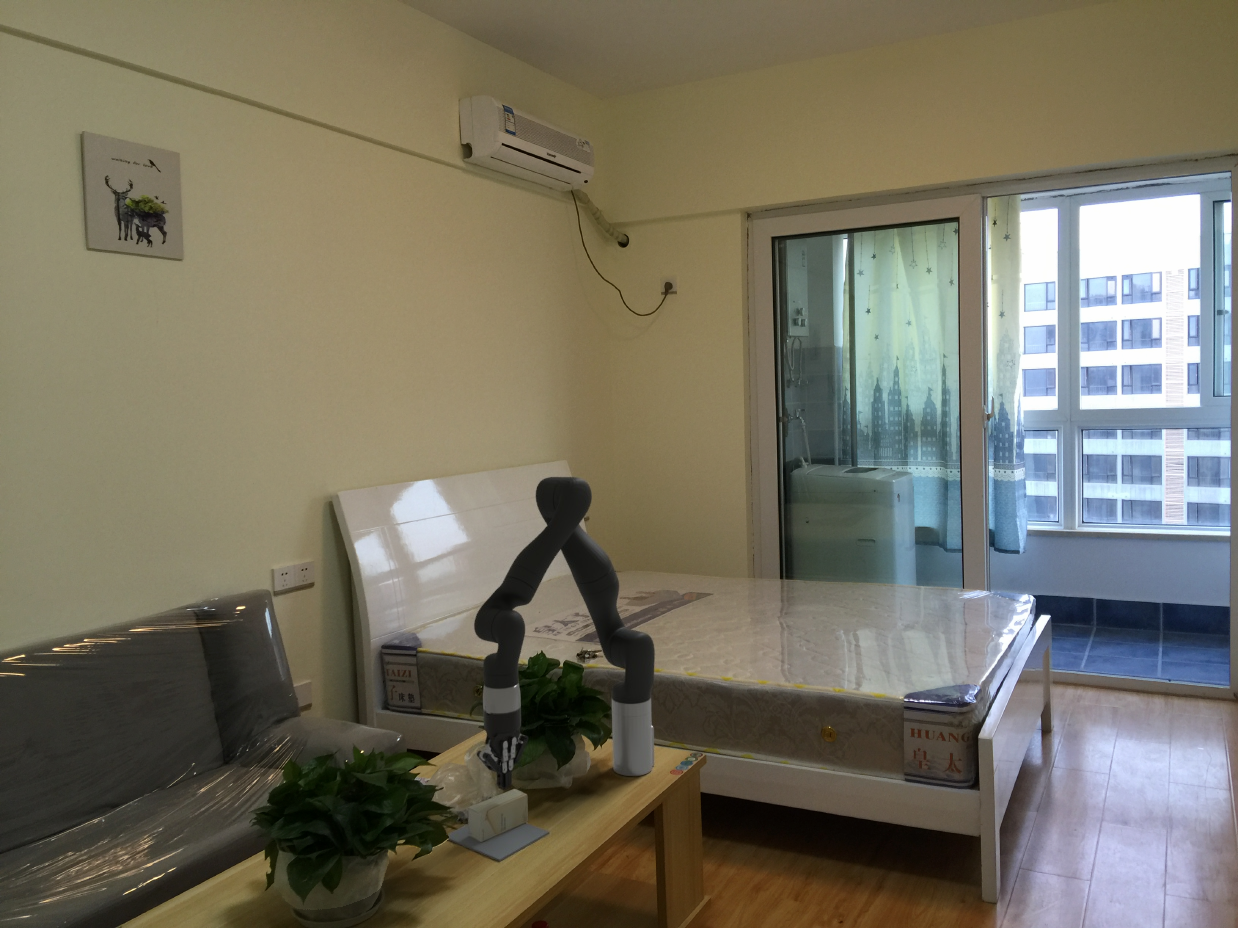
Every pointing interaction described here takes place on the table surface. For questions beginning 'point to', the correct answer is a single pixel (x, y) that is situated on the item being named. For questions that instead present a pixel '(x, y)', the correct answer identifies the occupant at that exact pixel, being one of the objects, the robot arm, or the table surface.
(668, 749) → the table surface
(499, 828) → the skincare box
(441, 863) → the table surface
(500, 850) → the slate mat
